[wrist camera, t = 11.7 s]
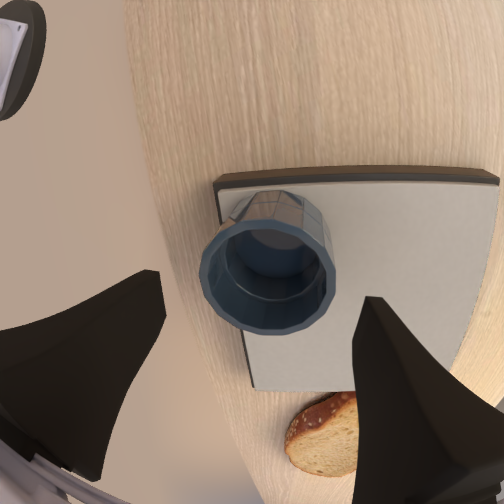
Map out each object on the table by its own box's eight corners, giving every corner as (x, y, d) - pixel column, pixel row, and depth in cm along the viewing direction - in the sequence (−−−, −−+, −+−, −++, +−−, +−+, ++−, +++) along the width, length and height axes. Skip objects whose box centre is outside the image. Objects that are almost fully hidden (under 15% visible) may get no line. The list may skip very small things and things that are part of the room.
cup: (207, 242, 17) (176, 285, 13) (268, 164, 14) (253, 188, 10) (283, 299, 18) (274, 353, 14) (351, 235, 15) (364, 281, 11)
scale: (220, 174, 18) (205, 185, 15) (483, 169, 14) (505, 180, 12) (254, 369, 25) (249, 393, 23) (439, 360, 22) (447, 382, 19)
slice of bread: (321, 469, 35) (320, 490, 32) (236, 425, 31) (229, 451, 27) (433, 430, 27) (437, 454, 24) (375, 370, 23) (380, 404, 20)
